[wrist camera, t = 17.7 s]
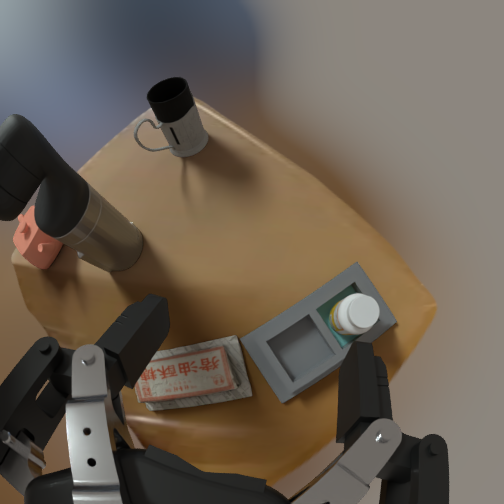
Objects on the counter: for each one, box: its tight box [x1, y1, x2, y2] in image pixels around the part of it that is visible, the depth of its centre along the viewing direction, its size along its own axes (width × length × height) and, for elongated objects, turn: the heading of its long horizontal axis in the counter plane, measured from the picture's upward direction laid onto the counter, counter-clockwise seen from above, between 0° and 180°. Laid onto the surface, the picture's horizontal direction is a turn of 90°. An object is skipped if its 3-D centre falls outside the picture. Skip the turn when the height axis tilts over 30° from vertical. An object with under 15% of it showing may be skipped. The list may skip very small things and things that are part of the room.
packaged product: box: [135, 335, 252, 411], centre depth 37 cm, size 18×5×10 cm
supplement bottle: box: [329, 293, 380, 335], centre depth 34 cm, size 5×5×10 cm
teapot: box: [13, 206, 63, 269], centre depth 44 cm, size 12×18×10 cm, turn 58°
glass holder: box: [134, 77, 208, 157], centre depth 45 cm, size 9×14×15 cm, turn 148°
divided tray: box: [240, 262, 397, 403], centre depth 38 cm, size 22×12×3 cm, turn 122°
